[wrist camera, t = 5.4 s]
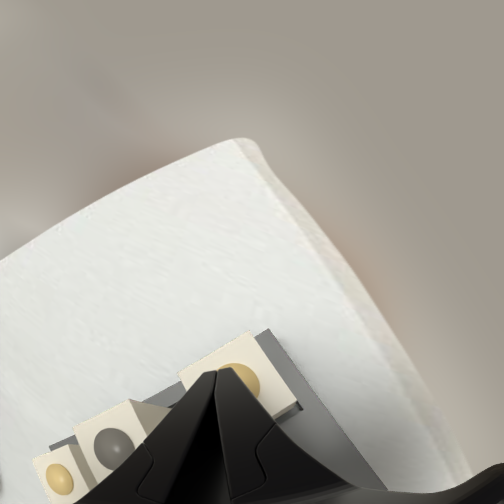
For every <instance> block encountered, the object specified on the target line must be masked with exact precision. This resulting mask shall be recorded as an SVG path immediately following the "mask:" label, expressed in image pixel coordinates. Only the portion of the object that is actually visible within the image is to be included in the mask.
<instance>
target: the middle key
mask: <svg viewBox="0 0 504 504" xmlns="http://www.w3.org/2000/svg"><path fill="white" fill-rule="evenodd" d="M171 409H172V408H167V407H162V406H157V405H152V404H148V403H143V402H139V401H135V400H131V399H128V400H126V401H124V402H122V403H120V404H118V405H116V406H114V407H112V408H110V409H108V410H106V411H104V412H102V413H100V414H98V415H96V416H94V417H92V418H90V419H88V420H86V421H84V422H82V423H80V424H78V425H76V426H74V427H72V428H73V431H74V433H75V436H76V438H77V440H78V443H79V445H80V447H81V450H82V452H83V454H84V456H85V458H86V461H87V463H88V465H89V467H90V469H91V471H92V473H93V475H94V477H95V479H96V481H97V483H98V484H99V483H100V482H101V481H102V480H104V479H105V478H106V477H107V476H108V475H109V474H111V473H112V472H113V471H114V470H115V469H116V468H117V467H118V466H119V465H121V464H122V463H123V462H124V461H125V460H126V459H127V458H128V457H129V456H130V455H131V453H132V452H133V451H134V450H135V449H136V448H137V447H138V446H139V445H140V444H141V443H143V441H144V439H145V438H146V437H147V436H148V435H149V434H150V433H151V432H152V431H153V429H154V428H155V427H156V426H157V425H158V424H159V423H160V422H161V420H162V419H163V418H164V417H165V416H166V415H167V414H168V413H169V411H170V410H171Z"/></svg>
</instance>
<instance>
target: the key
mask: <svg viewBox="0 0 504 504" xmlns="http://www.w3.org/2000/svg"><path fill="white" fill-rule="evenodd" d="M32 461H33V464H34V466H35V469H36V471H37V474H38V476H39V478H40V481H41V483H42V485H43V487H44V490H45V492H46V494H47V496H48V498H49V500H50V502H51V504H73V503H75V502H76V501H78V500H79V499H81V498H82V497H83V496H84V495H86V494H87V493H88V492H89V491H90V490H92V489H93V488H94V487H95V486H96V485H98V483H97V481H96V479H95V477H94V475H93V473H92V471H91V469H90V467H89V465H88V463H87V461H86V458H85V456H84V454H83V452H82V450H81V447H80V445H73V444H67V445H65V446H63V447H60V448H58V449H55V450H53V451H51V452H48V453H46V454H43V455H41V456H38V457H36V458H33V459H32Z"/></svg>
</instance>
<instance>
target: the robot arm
mask: <svg viewBox="0 0 504 504" xmlns="http://www.w3.org/2000/svg"><path fill="white" fill-rule="evenodd" d="M73 504H504V463H500V464H496V465H493V466H491V467H489V468H487V469H485V470H484V471H482V472H481V473H479V474H477V475H476V476H474V477H472V478H471V479H469V480H468V481H466V482H464V483H462V484H460V485H458V486H456V487H454V488H451V489H448V490H445V491H441V492H436V493H407V492H395V491H385V490H376V489H369V488H363V487H360V486H357V485H354V484H352V483H350V482H348V481H346V480H345V479H343V478H342V477H340V476H339V475H337V474H336V473H335V472H333V471H332V470H330V469H329V468H328V467H326V466H325V465H323V464H322V463H321V462H319V461H318V460H317V459H315V458H314V457H313V456H311V455H310V454H309V453H307V452H306V451H305V450H304V449H303V448H301V447H300V446H299V445H298V444H297V443H295V442H294V441H293V440H292V439H291V437H290V436H289V435H288V434H287V433H286V432H285V431H284V430H283V429H282V428H281V427H280V425H279V424H277V422H276V421H275V420H274V419H273V417H272V416H271V415H270V414H269V413H268V411H267V410H266V409H265V408H264V407H263V405H262V404H261V403H260V402H259V401H258V399H257V398H256V397H255V396H254V394H253V393H252V392H251V391H250V389H249V388H248V387H247V386H246V384H245V383H244V382H243V381H242V379H241V378H240V377H239V376H238V374H237V373H236V372H235V371H234V369H233V368H232V367H228V368H223V369H219V370H218V371H217V370H212V371H207V372H203V373H202V374H201V375H200V377H199V378H198V379H197V380H196V381H195V382H194V384H193V385H192V386H191V387H190V388H189V389H188V391H187V392H186V393H185V394H184V395H183V396H182V398H181V399H180V400H179V401H178V402H177V403H176V405H175V406H174V407H173V408H172V409H171V410H170V411H169V413H168V414H167V415H166V416H165V417H164V418H163V419H162V420H161V422H160V423H159V424H158V425H157V426H156V427H155V428H154V429H153V431H152V432H151V433H150V434H149V435H148V436H147V437H146V438H145V439H144V441H143V443H141V444H140V445H139V446H138V447H137V448H136V449H135V450H134V451H133V452H132V453H131V455H130V456H129V457H128V458H127V459H126V460H125V461H124V462H123V463H122V464H121V465H119V466H118V467H117V468H116V469H115V470H114V471H113V472H112V473H111V474H109V475H108V476H107V477H106V478H105V479H104V480H102V481H101V482H100V483H99V484H98V485H96V486H95V487H94V488H93V489H92V490H90V491H89V492H88V493H87V494H86V495H84V496H83V497H82V498H81V499H79V500H78V501H76V502H75V503H73Z"/></svg>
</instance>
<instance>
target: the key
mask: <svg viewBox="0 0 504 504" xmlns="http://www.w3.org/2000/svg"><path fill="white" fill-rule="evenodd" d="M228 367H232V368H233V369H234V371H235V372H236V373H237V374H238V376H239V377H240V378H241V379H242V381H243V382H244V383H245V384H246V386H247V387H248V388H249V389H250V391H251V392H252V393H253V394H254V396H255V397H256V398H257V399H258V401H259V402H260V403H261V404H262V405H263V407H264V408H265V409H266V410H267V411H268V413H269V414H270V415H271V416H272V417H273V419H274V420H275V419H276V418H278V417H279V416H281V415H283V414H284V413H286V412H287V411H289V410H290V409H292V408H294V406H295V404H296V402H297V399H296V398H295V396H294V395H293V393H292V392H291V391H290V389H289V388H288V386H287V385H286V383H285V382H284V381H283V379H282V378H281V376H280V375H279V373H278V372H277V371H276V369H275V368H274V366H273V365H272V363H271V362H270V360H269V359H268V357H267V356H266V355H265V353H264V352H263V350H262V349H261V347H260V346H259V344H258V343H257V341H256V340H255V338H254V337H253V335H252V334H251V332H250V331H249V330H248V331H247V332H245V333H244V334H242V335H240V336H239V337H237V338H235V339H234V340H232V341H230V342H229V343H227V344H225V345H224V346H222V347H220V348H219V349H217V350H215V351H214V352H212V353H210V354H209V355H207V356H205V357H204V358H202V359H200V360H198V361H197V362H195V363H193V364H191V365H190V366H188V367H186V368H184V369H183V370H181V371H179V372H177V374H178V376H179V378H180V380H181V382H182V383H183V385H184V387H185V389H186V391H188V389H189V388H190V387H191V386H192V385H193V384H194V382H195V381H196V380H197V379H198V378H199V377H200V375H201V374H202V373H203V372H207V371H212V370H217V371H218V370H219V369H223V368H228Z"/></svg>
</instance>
